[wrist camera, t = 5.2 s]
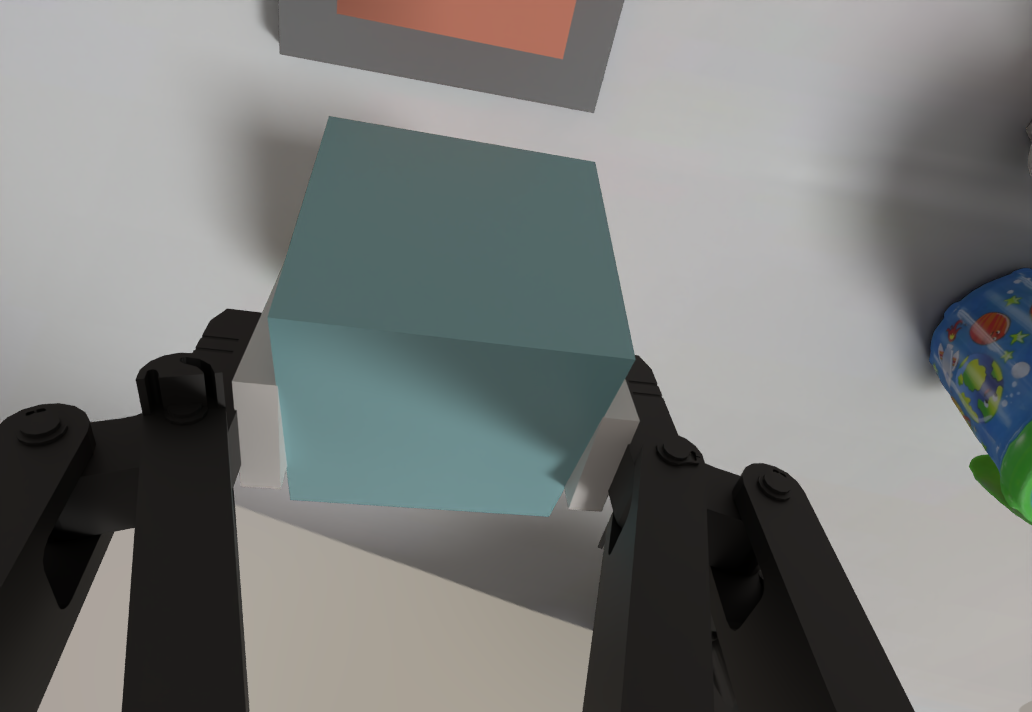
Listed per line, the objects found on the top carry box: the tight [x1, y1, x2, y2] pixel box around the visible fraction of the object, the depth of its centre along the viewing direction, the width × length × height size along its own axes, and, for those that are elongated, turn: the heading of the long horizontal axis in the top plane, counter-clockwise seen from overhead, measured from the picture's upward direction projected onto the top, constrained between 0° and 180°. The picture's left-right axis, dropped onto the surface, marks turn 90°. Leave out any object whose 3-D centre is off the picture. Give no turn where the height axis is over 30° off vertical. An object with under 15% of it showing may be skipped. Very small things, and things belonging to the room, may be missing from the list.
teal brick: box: [267, 116, 636, 517], centre depth 14 cm, size 6×6×6 cm
